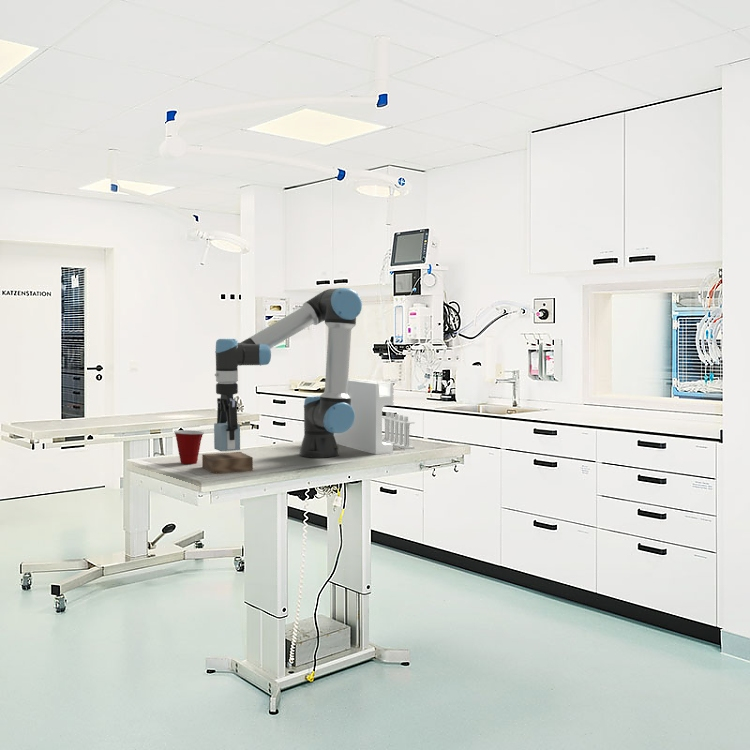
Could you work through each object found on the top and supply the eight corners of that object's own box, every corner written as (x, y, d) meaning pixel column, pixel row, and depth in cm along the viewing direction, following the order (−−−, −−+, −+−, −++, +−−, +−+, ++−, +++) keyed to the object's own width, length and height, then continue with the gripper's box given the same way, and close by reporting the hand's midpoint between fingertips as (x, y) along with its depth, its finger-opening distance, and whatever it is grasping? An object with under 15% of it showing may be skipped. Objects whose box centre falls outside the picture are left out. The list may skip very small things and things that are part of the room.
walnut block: (240, 465, 294) (240, 451, 293) (252, 471, 281) (252, 457, 281) (202, 468, 287) (202, 454, 287) (213, 474, 275) (213, 460, 275)
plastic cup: (210, 463, 295) (209, 430, 295) (183, 466, 288) (182, 433, 287) (195, 459, 303) (195, 427, 303) (169, 462, 296) (168, 430, 296)
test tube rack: (379, 441, 355) (379, 411, 354) (388, 440, 356) (388, 411, 356) (404, 449, 332) (405, 417, 331) (414, 448, 334) (414, 417, 333)
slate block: (233, 447, 289) (232, 422, 288) (240, 449, 283) (239, 424, 282) (214, 448, 285) (214, 423, 285) (221, 451, 279) (220, 425, 279)
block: (334, 443, 348) (334, 378, 346) (350, 441, 352) (350, 378, 350) (375, 454, 318) (376, 383, 316) (393, 453, 322) (393, 383, 320)
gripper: (207, 381, 289) (207, 444, 291) (226, 385, 272) (226, 452, 273) (227, 380, 293) (227, 443, 294) (247, 384, 276) (247, 450, 277)
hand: (227, 447), depth 284 cm, fingers closed on slate block, 7 cm apart
